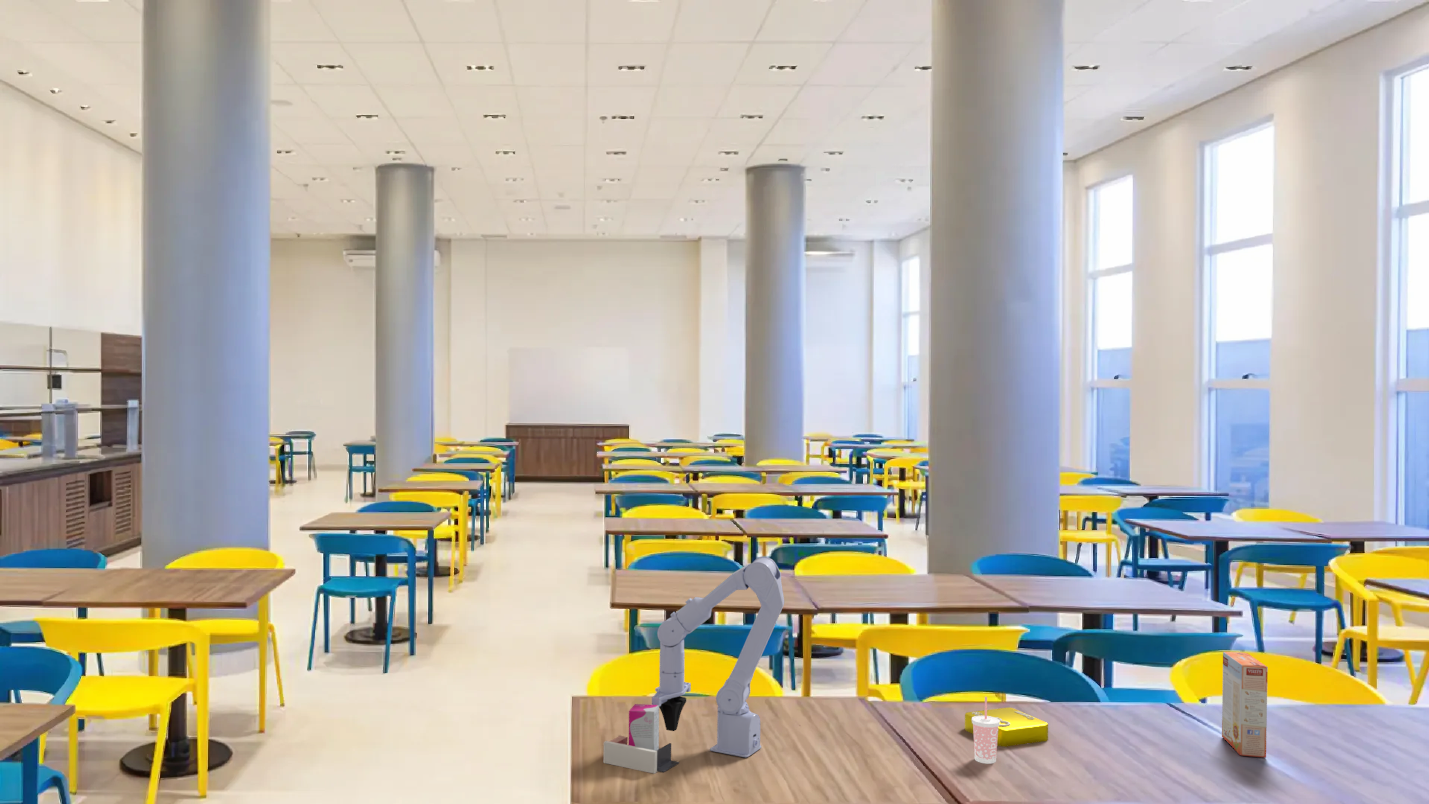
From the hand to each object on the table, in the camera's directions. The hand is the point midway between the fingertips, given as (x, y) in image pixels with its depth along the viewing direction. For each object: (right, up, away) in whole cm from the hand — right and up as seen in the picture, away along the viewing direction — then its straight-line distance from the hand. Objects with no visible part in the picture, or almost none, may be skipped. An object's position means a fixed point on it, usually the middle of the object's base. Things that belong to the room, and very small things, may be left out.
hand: (671, 729), depth 230 cm
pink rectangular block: (-12, -3, -9) cm, 15 cm away
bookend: (0, -3, -15) cm, 15 cm away
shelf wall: (-8, -3, -16) cm, 18 cm away
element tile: (+80, -5, +10) cm, 81 cm away
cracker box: (+134, -5, +3) cm, 134 cm away
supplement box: (-6, -3, -10) cm, 12 cm away
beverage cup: (+70, -4, -8) cm, 71 cm away
